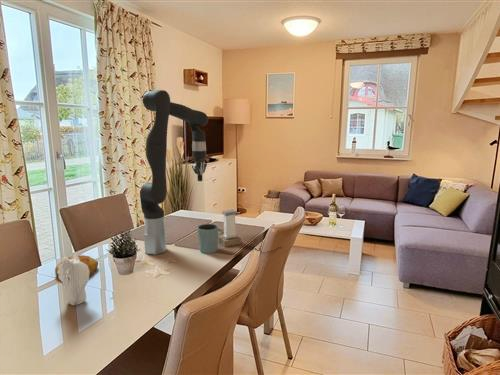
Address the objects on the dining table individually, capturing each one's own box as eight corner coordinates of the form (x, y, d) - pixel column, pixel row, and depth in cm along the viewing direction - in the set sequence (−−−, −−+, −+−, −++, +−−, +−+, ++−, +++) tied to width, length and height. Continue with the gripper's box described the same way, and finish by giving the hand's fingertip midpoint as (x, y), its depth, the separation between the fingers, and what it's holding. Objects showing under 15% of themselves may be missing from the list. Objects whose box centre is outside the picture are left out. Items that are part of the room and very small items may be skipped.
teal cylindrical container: (208, 256, 151) (207, 231, 149) (193, 251, 157) (192, 227, 155) (223, 249, 159) (222, 225, 157) (208, 244, 165) (207, 222, 163)
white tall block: (222, 236, 167) (222, 210, 164) (233, 234, 169) (233, 209, 167) (226, 239, 163) (225, 212, 161) (236, 237, 166) (236, 211, 163)
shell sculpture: (82, 293, 118) (77, 246, 115) (93, 301, 113) (88, 252, 109) (58, 303, 112) (51, 253, 108) (68, 311, 107) (62, 260, 103)
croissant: (61, 274, 138) (56, 256, 137) (100, 264, 143) (95, 247, 141) (52, 289, 125) (47, 270, 123) (96, 277, 129) (91, 259, 128)
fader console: (208, 234, 181) (208, 228, 180) (223, 231, 185) (223, 226, 184) (224, 247, 162) (224, 241, 161) (240, 243, 166) (240, 238, 165)
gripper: (199, 150, 171) (200, 183, 174) (211, 149, 183) (211, 179, 186) (186, 150, 174) (187, 182, 177) (199, 148, 186) (200, 178, 189)
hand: (200, 180), depth 182 cm, fingers closed
